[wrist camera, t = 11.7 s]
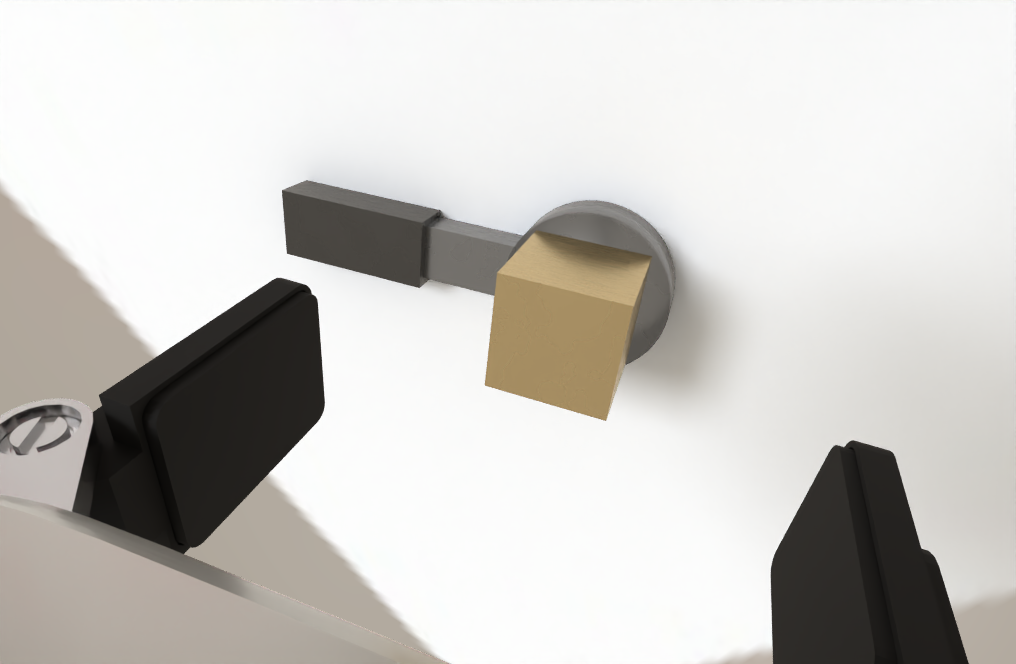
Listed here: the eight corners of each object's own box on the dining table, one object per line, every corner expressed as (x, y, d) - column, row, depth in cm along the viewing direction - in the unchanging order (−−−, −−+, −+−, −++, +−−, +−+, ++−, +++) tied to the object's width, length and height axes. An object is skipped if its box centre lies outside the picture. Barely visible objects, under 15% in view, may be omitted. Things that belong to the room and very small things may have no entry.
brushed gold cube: (536, 230, 32) (496, 272, 27) (652, 256, 30) (633, 306, 25) (522, 330, 35) (484, 385, 30) (627, 358, 33) (606, 420, 28)
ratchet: (304, 139, 37) (227, 162, 31) (694, 220, 31) (682, 265, 26) (312, 275, 41) (246, 317, 36) (654, 366, 36) (637, 431, 30)
